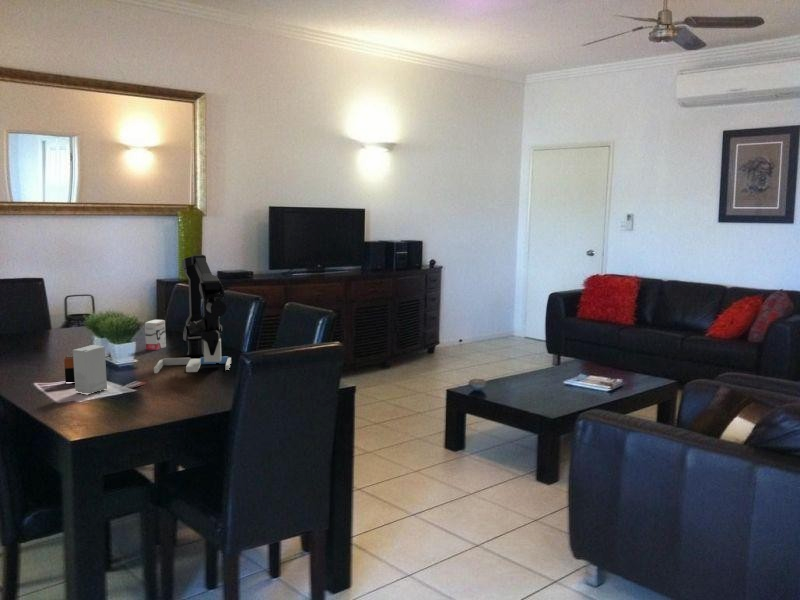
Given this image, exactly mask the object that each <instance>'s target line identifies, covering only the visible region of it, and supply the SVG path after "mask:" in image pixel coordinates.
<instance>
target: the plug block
mask: <svg viewBox="0 0 800 600" xmlns="http://www.w3.org/2000/svg"><path fill="white" fill-rule="evenodd" d="M203 351H204V355H203V357H204V362H221V357H222V338H220V339H219V341H218V344H217V347H216V350H215V353H214V355H210V351H209V347H208V344H207V342H206V341H205V340H203Z"/></svg>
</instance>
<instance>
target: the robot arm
mask: <svg viewBox="0 0 800 600" xmlns="http://www.w3.org/2000/svg"><path fill="white" fill-rule="evenodd" d="M181 265H182V267H181V268H182V269H183V273H184V275H185V276H186V277H187V279H188V305H189V306H188V307H189V316H188V317H187V319H186V320H185V326H184V328H183V332H182V333H183V334H182V337H183V338H182V339H183V340H184V341H185V342H187V349H188V350H187V354H186V356H187V357H192V356H193V357H194V356H195V357H197V356H204V344H203V341H204V340H205V341H206V342H207V344H208V347H209V351H210V355H214V353H215V350H216V347H217V344H218V341H219V339H221V336H222V332H223V325H222V324H220V323H221V321H220V318H221V317H222V316H224V315H225V313H226V312H227V306H226V303H224V301H221V299H225V294H226V293H225V290H224V286H223V283H222V282H221V280H220V279H219V278H218V276H217V275H214V274H213V273H212V272H211V269H210V266H209V265H208V263H207V257H206V254H205V255H204V254H194V255H191V256H189V257H187V256H186V257H185V258H184V259H182V263H181ZM202 307H203V309H202ZM202 310H203V313H202ZM202 314H203V315H202Z"/></svg>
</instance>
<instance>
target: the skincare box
mask: <svg viewBox="0 0 800 600" xmlns="http://www.w3.org/2000/svg"><path fill="white" fill-rule="evenodd" d="M72 356H73V362H74V377H75V384H74V389H75V391H78V392H82V393H92V392H96V391H100V390H104V389H106V390H108V382H107V381H108V380H107V367H106V365H107V364H106V348H105V346H103V345H98V344H90V345H87V346H83V347H80V348H79V347H78V348H75V349H72ZM75 391H74V392H75ZM104 391H105V390H104ZM100 392H101V391H100Z"/></svg>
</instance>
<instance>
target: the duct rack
mask: <svg viewBox="0 0 800 600" xmlns="http://www.w3.org/2000/svg"><path fill="white" fill-rule="evenodd" d="M216 363H219V364H225V371H226V370H229V371H230V369H229V368H231V365H230V364H232V356H231V357H230V356H228V355H227V356H226V355H225V356H222V355H221V362H204V356H201V357H200V358H191V357H169V358H168V357H167V358H166V357H165V358H162V359H159V361H158V362H157V363H156V365H155V366H154V367H153V373H154V374H158V373H159V372H160V370H161V369H162V368H163V366H185V365H186V366H185V372H186V373H197V372H198V371H199V369H200V367H201V365H215V364H216ZM216 365H217V364H216Z"/></svg>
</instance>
